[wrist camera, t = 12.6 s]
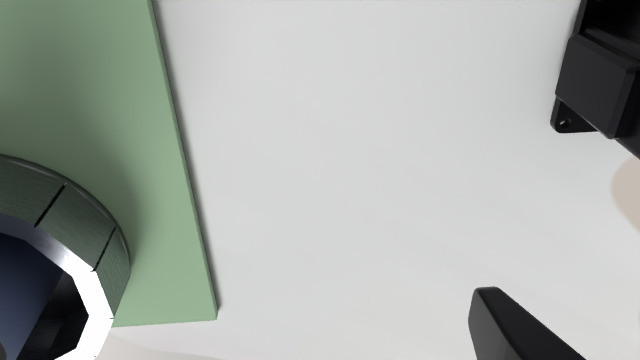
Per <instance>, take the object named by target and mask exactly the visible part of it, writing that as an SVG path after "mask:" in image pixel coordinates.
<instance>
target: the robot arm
mask: <svg viewBox="0 0 640 360" xmlns="http://www.w3.org/2000/svg"><path fill="white" fill-rule="evenodd" d="M555 94H556V96H557V97H556V100H555V104H554V108H553V112H552V116H551V120H550V124H551V126H552V128H553V129H554V130H555V131H557V132H558V133H578V132H596V131H599V132H600V133H601V134H603V135H604V136H605V137H606V138H608V139H615V140H616V141H617V142H618V143H620V144H621V145H622V146H623V147H624V148H626V149H627V150H628V151H629V152H631V153H632V154H633V155H634V156H636V157H637V158H638V159H639V160H640V0H581V3H580V7H579V11H578V15H577V19H576V23H575V27H574V31H573V34H572V36H571V37H570V38H569V40H568V44H567V47H566V51H565V55H564V59H563V63H562V67H561V71H560V75H559V79H558V83H557V87H556V91H555ZM566 118H567V120H566V121H565V122H564V123H563V124H561V125H560V123H561V121H562V120H563V119H566ZM468 324H469V330H470V334H471V338H472V341H473V345H474V349H475V353H476V356H477V360H586V359H585V358H584V357H582V356H581V355H580V354H579V353H577V352H576V351H575V350H574V349H573V348H571V347H570V346H569V345H568V344H567V343H565V342H564V341H563V340H562V339H560V338H559V337H558V336H557V335H556V334H554V333H553V332H552V331H551V330H550V329H548V328H547V327H546V326H545V325H543V324H542V323H541V322H540V321H539V320H537V319H536V318H535V317H534V316H533V315H531V314H530V313H529V312H528V311H526V310H525V309H524V308H523V307H522V306H520V305H519V304H518V303H517V302H516V301H514V300H513V299H512V298H511V297H509V296H508V295H507V294H506V293H505V292H503V291H502V290H501V289H500V288H497V287H480V288H476V289H475V290H474V293H473V297H472V302H471V306H470V311H469V317H468ZM0 360H7V353H6V349H5V348H4V346H3V344H2V343H1V341H0Z"/></svg>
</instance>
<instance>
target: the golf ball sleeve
mask: <svg viewBox="0 0 640 360" xmlns="http://www.w3.org/2000/svg"><path fill="white" fill-rule="evenodd" d="M63 272H64V270H63V269H62V268H61V267H59V266H58V265H57V264H55V263H54V262H53V261H51V260H50V259H49V258H48V257H46V256H45V255H44V254H42V253H41V252H40V251H38V250H37V249H36V248H35V247H33V246H32V245H31V244H29V243H28V242H27V241H25V240H23V239H20V238H17V237H14V236H10V235H7V234H4V233H1V232H0V341H1V343H2V344H3V346H4V348H5V349H6V353H7V360H16V358H17V356H18V355H19V353H20V351H21V349H22V347H23V346H24V344H25V342H26V340H27V338H28V336H29V335H30V333H31V331H32V329H33V327H34V326H35V324H36V322H37V320H38V318H39V317H40V315H41V313H42V311H43V309H44V307H45V306H46V304H47V302H48V300H49V298H50V297H51V295H52V293H53V291H54V289H55V288H56V286H57V284H58V282H59V280H60V278H61V277H62V274H63Z"/></svg>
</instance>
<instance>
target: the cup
mask: <svg viewBox="0 0 640 360" xmlns="http://www.w3.org/2000/svg"><path fill="white" fill-rule="evenodd" d="M0 232H1V233H4V234H7V235H10V236H14V237H17V238H20V239H23V240H25V241H27V242H28V243H29V244H31V245H32V246H33V247H35V248H36V249H37V250H38V251H40V252H41V253H42V254H44V255H45V256H46V257H48V258H49V259H50V260H51V261H53V262H54V263H55V264H57V265H58V266H59V267H61V268H62V269H63V270H64V272H63V274H62V277H61V278H60V280H59V282H58V284H57V286H56V288H55V289H54V291H53V293H52V295H51V297H50V298H49V300H48V302H47V304H46V306H45V307H44V309H43V311H42V313H41V315H40V317H39V318H38V320H37V322H36V324H35V326H34V327H33V329H32V331H31V333H30V335H29V336H28V338H27V340H26V342H25V344H24V346H23V347H22V349H21V351H20V353H19V355H18V356H17V358H16V360H92V359H94V358H96V356H98V353H99V351H100V349H101V347H102V344H103V342H104V340H105V338H106V335H107V333H108V331H109V329H110V326H111V324H112V322H113V320H114V317H115V314H116V312H117V309H118V307H119V304H120V301H121V299H122V296H123V294H124V291H125V288H126V286H127V283H128V281H129V278H130V275H131V271H132V270H131V267H130V266H131V261H130V251H129V247H128V243H127V240H126V238H125V236H124V233H123V231H122V229H121V228H120V226H119V224H118V223H117V221H116V219H115V218H114V217H113V216H112V214H111V213H110V212H109V211H108V209H107V208H106V207H105V206H104V205H103V204H102V203H101V202H100V201H99V200H98V199H97V198H96V197H95V196H93V195H92V194H91V193H90V192H88V191H87V190H86V189H85V188H83V187H82V186H80V185H79V184H77V183H76V182H74V181H73V180H71V179H70V178H68V177H66V176H64V175H62V174H60V173H58V172H56V171H54V170H52V169H50V168H47V167H45V166H42V165H40V164H38V163H35V162H31V161H28V160H25V159H22V158H18V157H13V156H8V155H4V154H0Z"/></svg>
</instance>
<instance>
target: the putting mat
mask: <svg viewBox="0 0 640 360" xmlns="http://www.w3.org/2000/svg"><path fill="white" fill-rule="evenodd" d="M0 154H4V155H8V156H13V157H18V158H22V159H25V160H28V161H31V162H35V163H38V164H40V165H42V166H45V167H47V168H50V169H52V170H54V171H56V172H58V173H60V174H62V175H64V176H66V177H68V178H70V179H71V180H73V181H74V182H76V183H77V184H79V185H80V186H82V187H83V188H85V189H86V190H87V191H88V192H90V193H91V194H92V195H93V196H95V197H96V198H97V199H98V200H99V201H100V202H101V203H102V204H103V205H104V206H105V207H106V208H107V209H108V211H109V212H110V213H111V214H112V216H113V217H114V218H115V219H116V221H117V223H118V224H119V226H120V228H121V229H122V231H123V233H124V236H125V238H126V240H127V243H128V247H129V251H130V261H131V266H130V267H131V270H132V271H131V275H130V278H129V281H128V283H127V286H126V288H125V291H124V294H123V296H122V299H121V301H120V304H119V307H118V309H117V312H116V314H115V317H114V320H113V322H112V324H111V326H110V327H125V326H139V325H154V324H168V323H183V322H197V321H211V320H217V315H218V310H217V305H216V300H215V296H214V291H213V286H212V282H211V277H210V272H209V268H208V263H207V258H206V254H205V249H204V244H203V240H202V235H201V230H200V226H199V221H198V216H197V212H196V207H195V202H194V198H193V193H192V188H191V183H190V179H189V174H188V169H187V165H186V160H185V155H184V151H183V146H182V141H181V137H180V132H179V127H178V123H177V118H176V113H175V109H174V104H173V99H172V95H171V90H170V85H169V81H168V76H167V71H166V67H165V62H164V57H163V53H162V48H161V43H160V39H159V34H158V29H157V25H156V20H155V15H154V11H153V6H152V1H151V0H0Z"/></svg>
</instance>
